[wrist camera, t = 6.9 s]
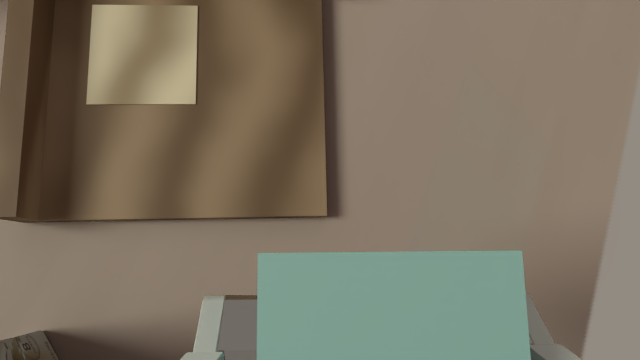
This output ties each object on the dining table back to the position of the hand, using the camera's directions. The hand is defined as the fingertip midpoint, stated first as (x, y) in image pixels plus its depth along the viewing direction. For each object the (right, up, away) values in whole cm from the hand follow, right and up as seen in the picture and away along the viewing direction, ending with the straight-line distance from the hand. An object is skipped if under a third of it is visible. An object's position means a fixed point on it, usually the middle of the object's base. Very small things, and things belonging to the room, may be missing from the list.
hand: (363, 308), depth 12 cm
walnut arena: (-11, +9, +21) cm, 25 cm away
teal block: (0, -1, +4) cm, 4 cm away
